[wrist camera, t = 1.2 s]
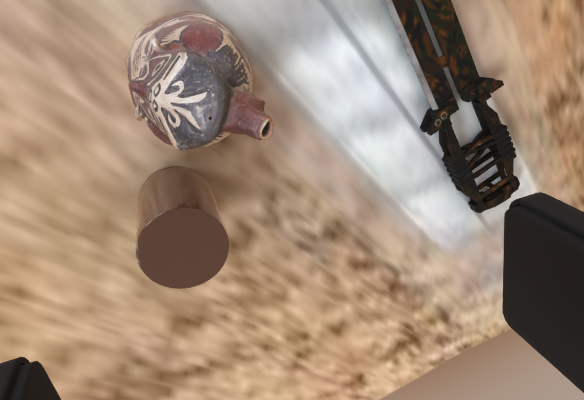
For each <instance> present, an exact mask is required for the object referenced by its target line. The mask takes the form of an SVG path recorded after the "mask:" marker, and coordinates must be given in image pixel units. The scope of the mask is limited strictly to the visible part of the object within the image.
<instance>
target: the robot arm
mask: <svg viewBox="0 0 584 400" xmlns="http://www.w3.org/2000/svg"><path fill="white" fill-rule="evenodd" d="M503 315H504V318H505V320H506V322H507V323H508V325H509V326H510V327H511V328H512V329H513V330H514V331H515V332H516V333H518V334H519V335H520V336H521V337H522V338H523V339H524V340H525V341H527V342H528V343H529V344H530V345H531V346H532V347H533V348H534V349H535V350H537V351H538V352H539V353H540V354H541V355H542V356H543V357H544V358H546V359H547V360H548V361H549V362H550V363H551V364H552V365H553V366H554V367H556V368H557V369H558V370H559V371H560V372H561V373H562V374H563V375H564V376H565V377H567V378H568V379H569V380H570V381H571V382H572V383H573V384H574V385H575V386H577V387H578V388H579V389H580V390H581V391H582V392H583V393H584V212H582V211H580V210H578V209H576V208H574V207H572V206H570V205H568V204H566V203H564V202H562V201H560V200H558V199H555V198H553V197H551V196H549V195H547V194H545V193H541V192H540V193H535V194H532V195H529V196H525V197H522V198H519V199H516V200H514V201H513V202H512V203H511V204H510V207H509V209H508V210H507V211H506V213H505V217H504V267H503ZM0 400H61V399H60V397H59V395H58V393H57V391H56V390H55V388H54V386H53V384H52V382H51V380H50V379H49V377H48V375H47V373H46V371H45V370H44V368H43V366H42V365H41V363H39V362H38V361H34V362H31V363H30V362H29V360H27V359H26V358H25V357H19V358H16V359H13V360H10V361H7V362H3V363H0Z"/></svg>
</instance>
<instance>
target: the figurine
mask: <svg viewBox="0 0 584 400" xmlns="http://www.w3.org/2000/svg"><path fill="white" fill-rule="evenodd" d="M126 65H127V68H128V78H129V89H130V93H131V96H132V100H133V103H134V105H135V107H136V110H135V115H136V118H137V119H138V120H139V121H140V120H142V119H143V118H144V120H145V122H146V123H147V125H148V126H149V128H150V129H151V130H152V132H153V133H154V134H155V135H156V136H157V137H158V138H159V139H161V140H162V141H163V142H165V143H167V144H170V145H173V147H174V148H175V149H177V150H180V151H181V150H187V149H193V148H198V147H205V146H210V145H212V144H215V143H217V142H220V141H221V140H222V139H224V138H225V137H227V136H228V135H230V134H231V133H239V134H246V135H248V136H251V137H253V138H256V139H258V140H265V139H267V138H269V137H270V136H271V133H272V130H273V122H272V120H271V118H270V117H269V116H268V115H266V114H265V113H263V110H264V104H265V102H264V101H263V100H261V99H258V98H256V97H255V96H254V95H253V94H252V71H251V67H250V64H249V60H248V57H247V55H246V53H245V52H244V50H243V48H242V46H241V44H240V42H239V41H238V40H237V39H236V37H235V36H234V35H233V34H232V33H231V32H230V30H228V29H227V28H226V27H224V26H223V25H222V24H221V23H219V22H218V21H216V20H215V19H213V18H211V17H209V16H206V15H204V14H201V13H196V12H181V13H177V14H174V15H171V16H168V17H165V18H163V19H161V20H159V21H158V22H156V23H154V24H148V25H147V26H146V27H145V28H143V29H142V30H141V31H139V32H138V33H137V35H136V37H135V41H134V44H133V47H132V49H131V51H130V53H129V54H128V58H127V61H126Z"/></svg>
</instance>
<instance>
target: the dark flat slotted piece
mask: <svg viewBox="0 0 584 400" xmlns="http://www.w3.org/2000/svg"><path fill="white" fill-rule="evenodd" d="M384 1H385V3H386V6H387V8H388V10H389V12H390V15H391V17H392V19H393V22H394V24H395V26H396V28H397V31H398V33H399V35H400V38H401V40H402V42H403V44H404V47H405V49H406V51H407V53H408V56H409V58H410V60H411V63H412V65H413V67H414V69H415V72H416V74H417V76H418V78H419V81H420V83H421V85H422V88H423V90H424V92H425V94H426V97H427V99H428V101H429V103H430V106H431V108H430V109H428V110H427V112H426V114H425V117H424V119H423V121H422V124H421V126H420V129H421V131H423V132H426V131H427V134H429V135H433V134H434V133H435V132H437V131H438V130H439V143H440V145H441V147H442V150H443V152H444V156H443V158H442V160H443V162H445V164H444V165H445V167H447V171H448V172H449V173H450V174H449V176H450V177H451V178H452V179H451V180H452V182H454V184H455V186H456V189H457V190H459V191H462V192H463V193H464V194H465V195H466V196H469V197H470V200H471V201H470V202H469V205H470V208H471V209H472V210H473V211H475V212H477V213H482V212H483V211H485V210H487V209H490V208H493V207H496V206H497V205H499V204H501V203H502V202H504V201H506V200H507V199H509V198H510V197H511V194H512V193H513V192H515V191H516V190H518V187H519V185H520V183H519V180H518V178H517V177H515V176H514V175H513V161H514V158H515V157H516V154H515V151H516V150H515V148H514V147H513V142H511V140H512V139H511V137H509V131H507V129H508V128H507V126H506V125H503V124H501V122H500V120H499V117H498V114H497V113H496V112H495V111H494V110H493V109H492V108H490V107H489V106H488V105H487V102H486V100H488V99H489V98H490V97H491V94H490V93H493V92H494V91H496V90H497V89H499V88H500V87H501V86H503V85H504V84H503V81H500V80H495V79H492V78H484V77H479V75H478V72H477V70H476V67H475V64H474V61H473V59H472V56H471V53H470V50H469V48H468V45H467V42H466V40H465V37H464V34H463V31H462V29H461V26H460V23H459V21H458V18H457V15H456V12H455V10H454V7H453V4H452V1H451V0H421V1H422V4H423V6H424V9H425V11H426V14H427V16H428V19H429V21H430V24H431V26H432V29H433V31H434V34H435V36H436V39H437V41H438V44H439V46H440V49H441V51H442V54H443V55H442V56H441V57H439V58H438V55H437V53H436V51H435V48H434V46H433V43H432V41H431V38H430V36H429V33H428V31H427V28H426V26H425V23H424V21H423V19H422V16H421V14H420V11H419V9H418V6H417V4H416V1H415V0H384ZM446 66H448V69H449V71H450V74H451V76H452V79H453V81H454V84H455V86H456V89H457V91H458V93H459V94H460V97H461V99H462V100H463V101H466V102H470V101H471V102H472V104H473V107H474V110H475V112H476V115H477V117H478V120H479V122H480V125H481V128H482V131H481V132H480V133H479V135H478V136H477V137H476V138H475V139H474V140H473V141H472V143H469V144H467V145H465V146H462V147H460V145H459V142H458V140H457V138H456V135H455V133H454V131H453V128H452V126H451V125H452V123H451V121H450V115H452V114H453V113H454V112H456V111H457V110H459V107H458V105H457V102H456V100H455V97H454V95H453V92H452V90H451V87H450V85H449V82H448V80H447V78H446V75H445V73H444V70H443V68H445V67H446ZM484 135H485V136H484ZM483 136H484V137H483ZM482 137H483V138H482ZM484 142H485V143H484ZM481 143H484V144H482V145H479V144H481ZM478 145H479V146H478ZM487 147H488V149H489V150H490V151H491V152H489V153H488V154H487V155H485V156H484V157H482V158H481V159H479V157H480V156H481V155H482V154H483V152H484V151H485V150H486V149H487ZM465 150H466V151H465ZM463 151H465V152H463ZM477 151H478V152H477ZM475 152H477V153H476V154H475V156H474V157H473V158H472V159H471V160H470V162H469V163H468V161H467V160H466V159H465V158H466V157H467V156H468V155H470V154H473V153H475ZM492 156H493V158H494V160H492V161H491V162H489V163H488V164H487V165H485V166H484V167H482V168H481V169H479V170H478V171H477V172H475V173H474V174H473V173H472V170H473V169H475V168H476V167H478V166H479V165H481V164H482V163H484V162H485V161H486V160H488V159H489V158H491V157H492ZM478 159H479V160H478ZM477 160H478V161H477ZM467 163H468V164H467ZM495 164H496V166H497V169H498V171H499V172H497V173H496V174H494V175H493V176H491V177H490V178H488V179H487V180H486V181H484V182H483V183H481V184H480V185H478V186H477V185H476V182H475V180H474V179H475V178H477V177H478V176H480V175H481V174H483V173H484V172H485V171H487V170H488V169H490V168H491V167H493V166H494V165H495ZM504 168H505V171H506V173H505V171H504ZM506 174H507V176H506ZM499 176H500V177H501V179H502V180H501V181H499V182H498V183H496V184H495V185H493V184H492V183H491V182H492V181H494V180H495V179H496V178H498V177H499ZM485 186H488V187H489V189H488V190H486V191H485V192H481V193H480V192H479V190H481V189H482V188H484V187H485Z"/></svg>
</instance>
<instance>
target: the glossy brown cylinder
mask: <svg viewBox="0 0 584 400" xmlns="http://www.w3.org/2000/svg"><path fill="white" fill-rule="evenodd" d="M228 252H229V239H228V235H227V232H226V229H225V226H224V223H223V220H222V217H221V214H220V212H219V209H218V206H217V203H216V200H215V197H214V194H213V191H212V188H211V186H210V184H209V183H208V181H207V180H206V179H205V178H204V177H203V176H202V175H201V174H199V173H198V172H196V171H194V170H192V169H189V168H184V167H169V168H165V169H162V170H160V171H158V172H156V173H154V174H153V175H151V176H150V177H149V178H148V179H147V180H146V181H145V183H144V184H143V186H142V188H141V190H140V193H139V197H138V215H137V235H136V258H137V261H138V264H139V266H140V268H141V269H142V271H143V272H144V273H145V274H146V276H147V277H149V278H150V279H151V280H152V281H154V282H156V283H158V284H160V285H162V286H165V287H169V288H177V289H182V288H190V287H194V286H198V285H200V284H202V283H204V282H206V281H208V280H210V279H211V278H212V277H214V276H215V275H216V274H217V273H218V272H219V271H220V269H221V268H222V267H223V265H224V263H225V261H226V259H227V256H228Z"/></svg>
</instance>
